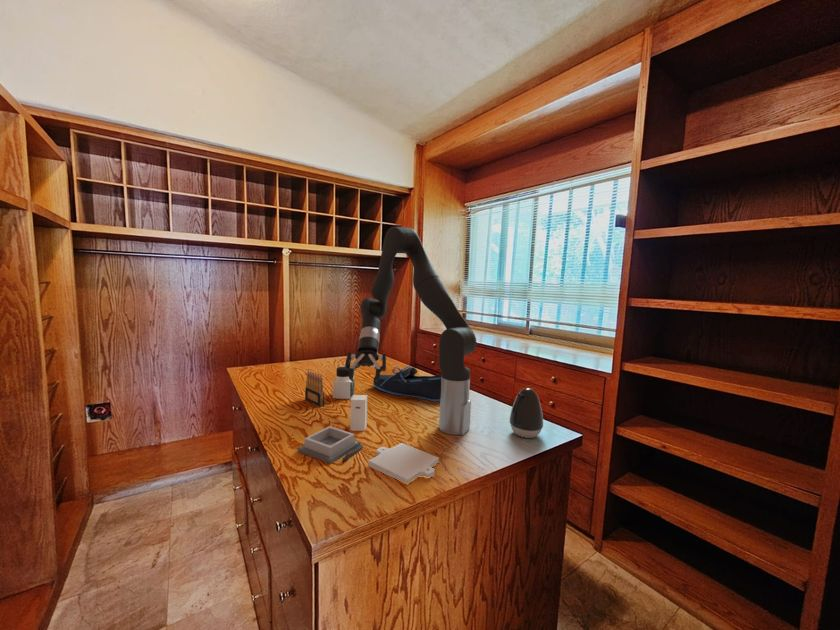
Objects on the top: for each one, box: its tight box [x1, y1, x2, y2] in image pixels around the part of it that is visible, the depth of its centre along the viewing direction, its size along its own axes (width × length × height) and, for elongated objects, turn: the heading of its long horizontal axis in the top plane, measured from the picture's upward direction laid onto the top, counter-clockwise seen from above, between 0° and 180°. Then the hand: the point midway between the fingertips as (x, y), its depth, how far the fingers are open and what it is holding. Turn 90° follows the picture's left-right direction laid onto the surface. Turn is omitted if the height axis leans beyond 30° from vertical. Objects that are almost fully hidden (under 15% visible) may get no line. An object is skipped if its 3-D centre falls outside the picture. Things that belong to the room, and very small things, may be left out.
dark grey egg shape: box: [509, 387, 544, 439], centre depth 109 cm, size 10×10×15 cm
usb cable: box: [342, 444, 364, 462], centre depth 93 cm, size 9×1×1 cm, turn 156°
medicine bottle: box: [332, 365, 356, 400], centre depth 139 cm, size 7×7×12 cm
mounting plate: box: [368, 442, 440, 484], centre depth 89 cm, size 18×13×2 cm
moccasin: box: [372, 365, 441, 402], centre depth 146 cm, size 14×34×12 cm, turn 71°
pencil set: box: [304, 369, 325, 408], centre depth 130 cm, size 11×2×12 cm, turn 48°
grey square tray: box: [297, 425, 362, 465], centre depth 96 cm, size 12×12×4 cm
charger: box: [349, 394, 368, 432], centre depth 110 cm, size 4×5×10 cm
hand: (363, 380), depth 118 cm, fingers open, 8 cm apart
